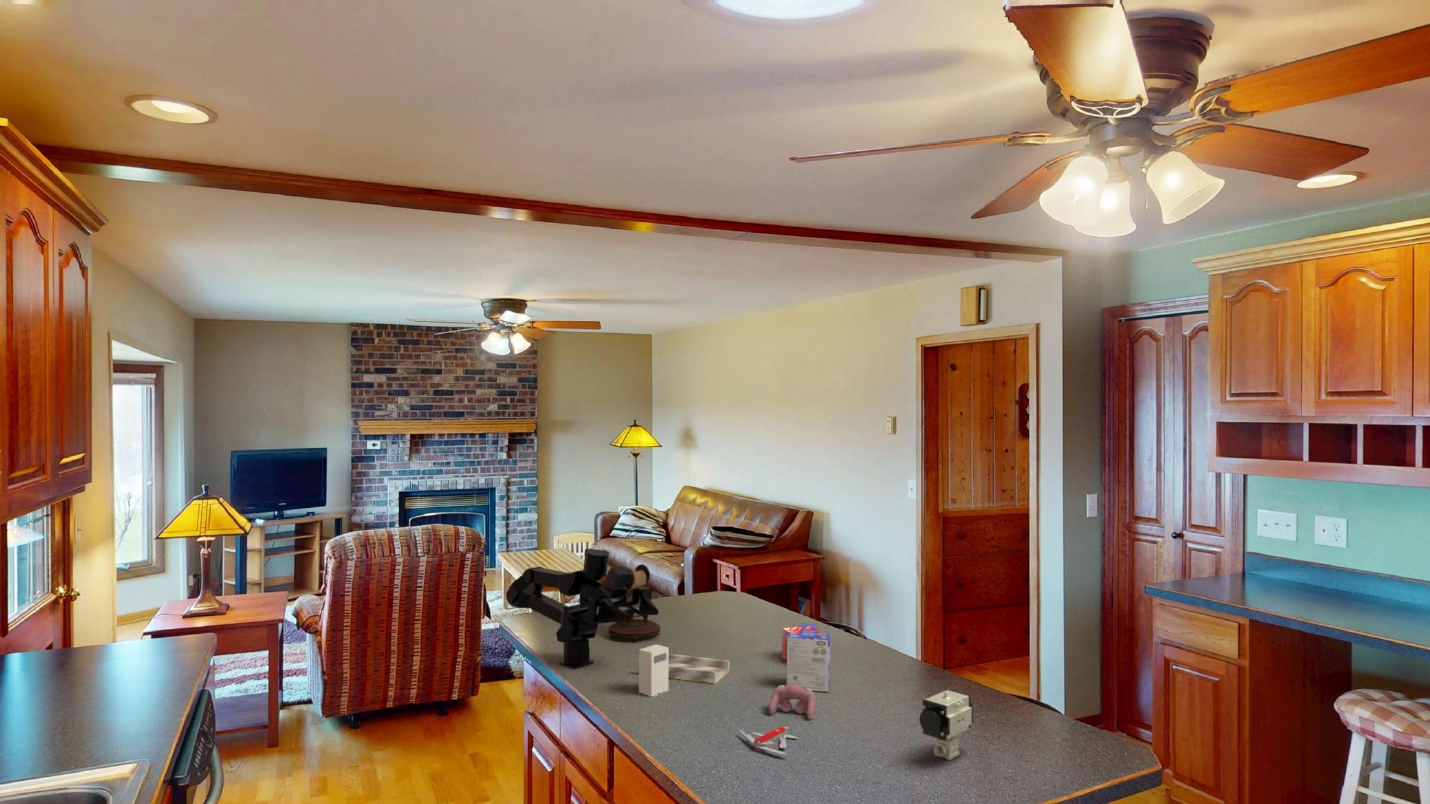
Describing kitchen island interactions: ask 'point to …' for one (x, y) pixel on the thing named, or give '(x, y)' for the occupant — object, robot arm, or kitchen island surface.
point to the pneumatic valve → (946, 720)
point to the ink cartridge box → (809, 659)
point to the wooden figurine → (635, 626)
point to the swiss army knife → (769, 740)
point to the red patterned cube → (785, 634)
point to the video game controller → (793, 692)
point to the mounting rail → (697, 668)
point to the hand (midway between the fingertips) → (644, 615)
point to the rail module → (653, 670)
